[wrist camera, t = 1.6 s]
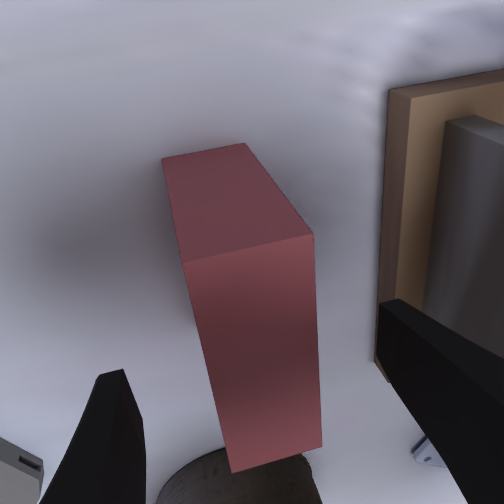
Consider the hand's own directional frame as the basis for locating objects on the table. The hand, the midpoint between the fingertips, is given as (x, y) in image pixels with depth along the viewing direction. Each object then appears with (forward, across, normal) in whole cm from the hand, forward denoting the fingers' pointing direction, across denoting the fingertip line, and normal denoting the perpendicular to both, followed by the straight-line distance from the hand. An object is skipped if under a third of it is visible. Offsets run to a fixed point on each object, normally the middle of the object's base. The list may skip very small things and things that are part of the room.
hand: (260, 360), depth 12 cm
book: (+7, 0, 0) cm, 7 cm away
